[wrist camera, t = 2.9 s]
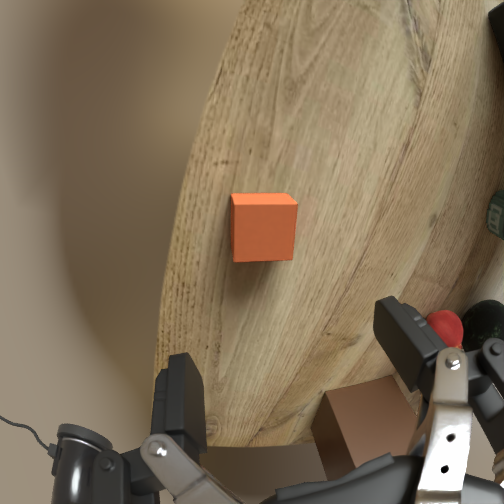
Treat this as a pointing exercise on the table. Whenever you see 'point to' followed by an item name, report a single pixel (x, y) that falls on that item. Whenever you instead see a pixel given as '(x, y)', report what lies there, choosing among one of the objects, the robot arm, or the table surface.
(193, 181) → the table surface
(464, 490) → the robot arm
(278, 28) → the table surface
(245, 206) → the block
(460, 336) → the onion
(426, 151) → the table surface
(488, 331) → the decorative stone
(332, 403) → the brown holder box
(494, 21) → the flower pot
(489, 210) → the can
